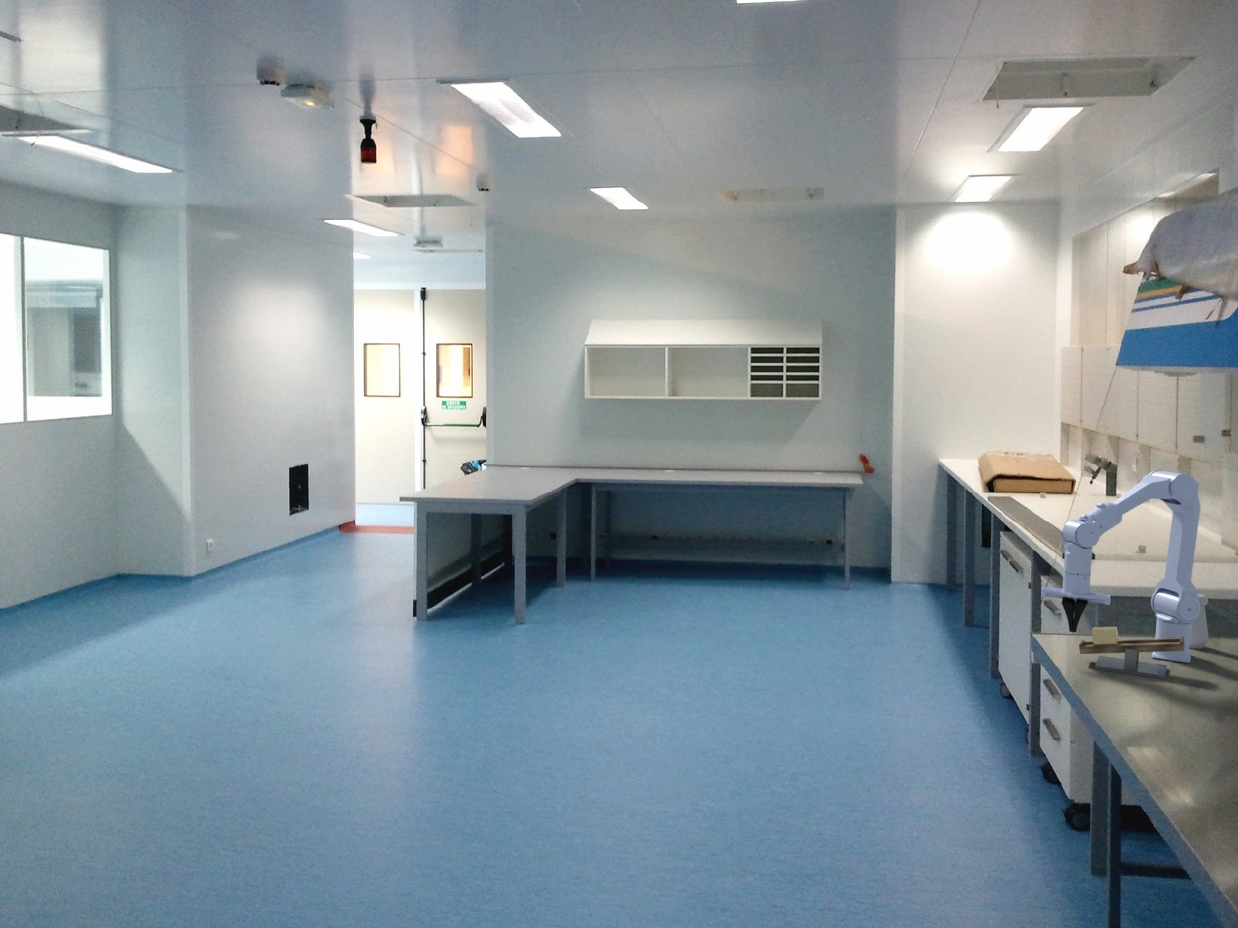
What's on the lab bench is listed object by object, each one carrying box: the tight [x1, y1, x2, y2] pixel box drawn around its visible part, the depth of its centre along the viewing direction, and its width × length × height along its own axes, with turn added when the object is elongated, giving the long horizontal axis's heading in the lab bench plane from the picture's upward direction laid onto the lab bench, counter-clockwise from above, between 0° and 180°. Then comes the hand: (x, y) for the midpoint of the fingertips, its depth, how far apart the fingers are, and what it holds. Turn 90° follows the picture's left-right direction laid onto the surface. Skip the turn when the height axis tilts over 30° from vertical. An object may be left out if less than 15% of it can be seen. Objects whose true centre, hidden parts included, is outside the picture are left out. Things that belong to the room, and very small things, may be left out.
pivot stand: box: [1094, 648, 1168, 680], centre depth 241 cm, size 10×14×5 cm
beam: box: [1078, 636, 1185, 655], centre depth 241 cm, size 21×7×3 cm, turn 61°
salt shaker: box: [1189, 593, 1210, 650], centre depth 263 cm, size 6×6×13 cm
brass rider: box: [1091, 626, 1120, 646], centre depth 244 cm, size 4×5×4 cm
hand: (1072, 631), depth 247 cm, fingers closed
